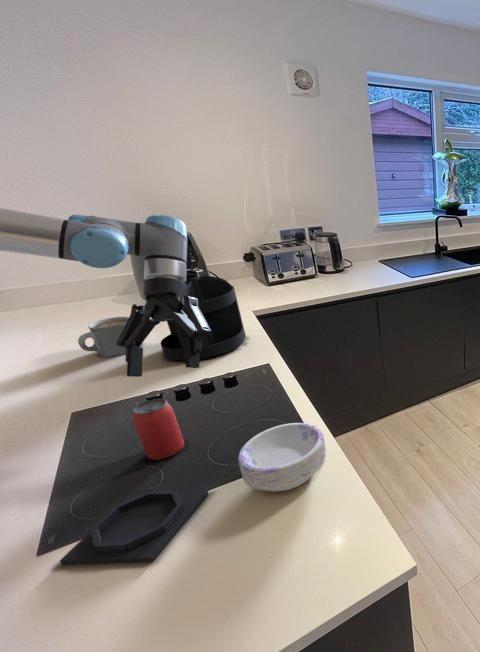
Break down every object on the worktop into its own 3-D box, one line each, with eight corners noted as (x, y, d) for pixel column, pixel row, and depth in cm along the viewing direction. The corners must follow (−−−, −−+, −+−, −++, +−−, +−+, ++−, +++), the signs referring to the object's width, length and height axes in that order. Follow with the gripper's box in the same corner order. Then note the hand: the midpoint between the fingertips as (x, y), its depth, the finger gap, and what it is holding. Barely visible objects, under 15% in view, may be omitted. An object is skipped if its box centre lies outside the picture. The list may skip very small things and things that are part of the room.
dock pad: (61, 565, 64) (55, 554, 63) (133, 496, 77) (128, 486, 76) (153, 561, 65) (148, 551, 64) (208, 494, 78) (205, 484, 77)
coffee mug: (137, 340, 139) (127, 314, 135) (143, 349, 133) (133, 322, 129) (82, 353, 130) (71, 325, 126) (86, 363, 124) (74, 334, 120)
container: (255, 348, 136) (238, 277, 127) (170, 370, 121) (144, 292, 112) (238, 329, 151) (222, 264, 141) (160, 346, 136) (136, 275, 126)
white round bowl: (343, 456, 89) (338, 427, 86) (294, 510, 75) (286, 478, 72) (285, 444, 92) (278, 416, 89) (227, 494, 78) (217, 462, 75)
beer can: (154, 465, 84) (135, 418, 80) (142, 453, 88) (124, 407, 83) (190, 448, 90) (175, 403, 85) (178, 437, 93) (162, 394, 88)
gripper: (229, 277, 96) (229, 364, 92) (131, 293, 97) (127, 380, 93) (203, 268, 88) (202, 362, 84) (97, 285, 89) (92, 379, 85)
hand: (163, 372), depth 89 cm, fingers open, 13 cm apart
